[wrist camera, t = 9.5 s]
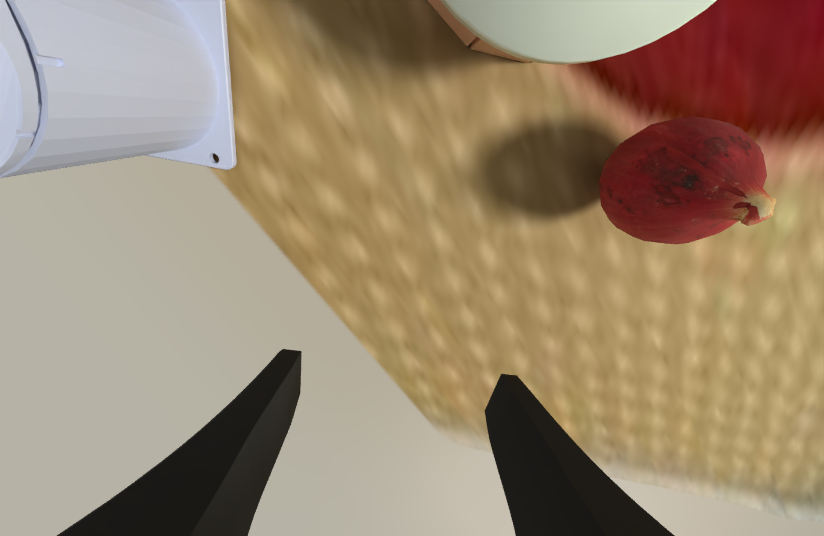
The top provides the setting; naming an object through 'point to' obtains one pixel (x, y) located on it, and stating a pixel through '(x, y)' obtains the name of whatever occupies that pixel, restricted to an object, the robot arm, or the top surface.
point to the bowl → (468, 33)
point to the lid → (572, 25)
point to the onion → (685, 181)
